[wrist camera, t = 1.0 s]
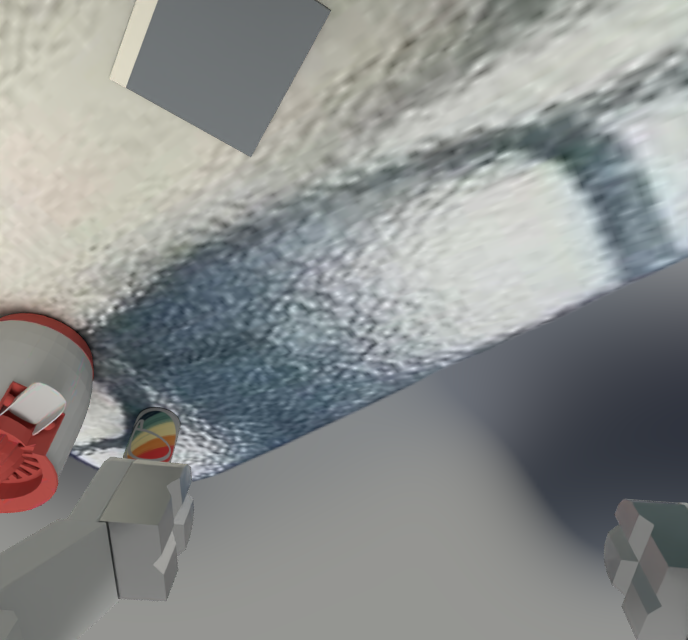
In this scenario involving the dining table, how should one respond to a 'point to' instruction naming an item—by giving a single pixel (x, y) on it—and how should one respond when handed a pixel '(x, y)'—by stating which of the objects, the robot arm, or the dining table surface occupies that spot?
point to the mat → (218, 60)
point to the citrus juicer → (39, 405)
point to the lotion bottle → (153, 436)
